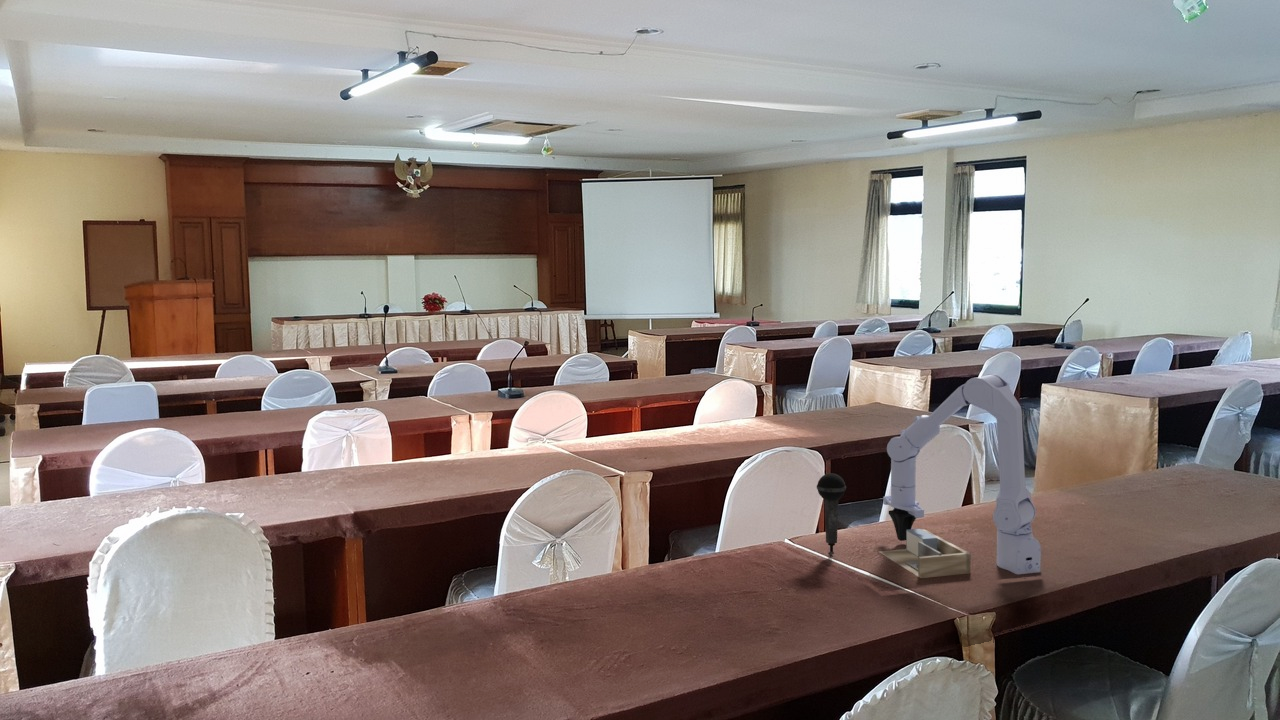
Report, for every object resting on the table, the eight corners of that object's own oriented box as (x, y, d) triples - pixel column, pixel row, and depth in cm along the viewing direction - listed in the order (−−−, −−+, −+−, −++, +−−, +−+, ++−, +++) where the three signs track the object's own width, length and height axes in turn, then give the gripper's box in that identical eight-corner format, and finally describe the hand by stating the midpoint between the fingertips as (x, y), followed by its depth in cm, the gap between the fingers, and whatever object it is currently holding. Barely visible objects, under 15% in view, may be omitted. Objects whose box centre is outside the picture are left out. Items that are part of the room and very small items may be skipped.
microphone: (813, 558, 223) (812, 475, 221) (821, 550, 229) (821, 469, 227) (841, 562, 220) (841, 477, 218) (849, 554, 226) (849, 471, 224)
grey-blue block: (937, 558, 218) (937, 537, 217) (923, 560, 217) (923, 539, 217) (919, 549, 226) (919, 528, 225) (906, 550, 225) (906, 529, 225)
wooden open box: (970, 576, 208) (970, 551, 207) (920, 581, 205) (920, 556, 205) (924, 550, 227) (924, 527, 227) (878, 554, 225) (878, 531, 224)
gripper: (935, 490, 223) (934, 546, 224) (900, 477, 237) (900, 530, 238) (909, 492, 221) (909, 549, 222) (876, 479, 235) (875, 533, 236)
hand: (902, 539), depth 230 cm, fingers closed
